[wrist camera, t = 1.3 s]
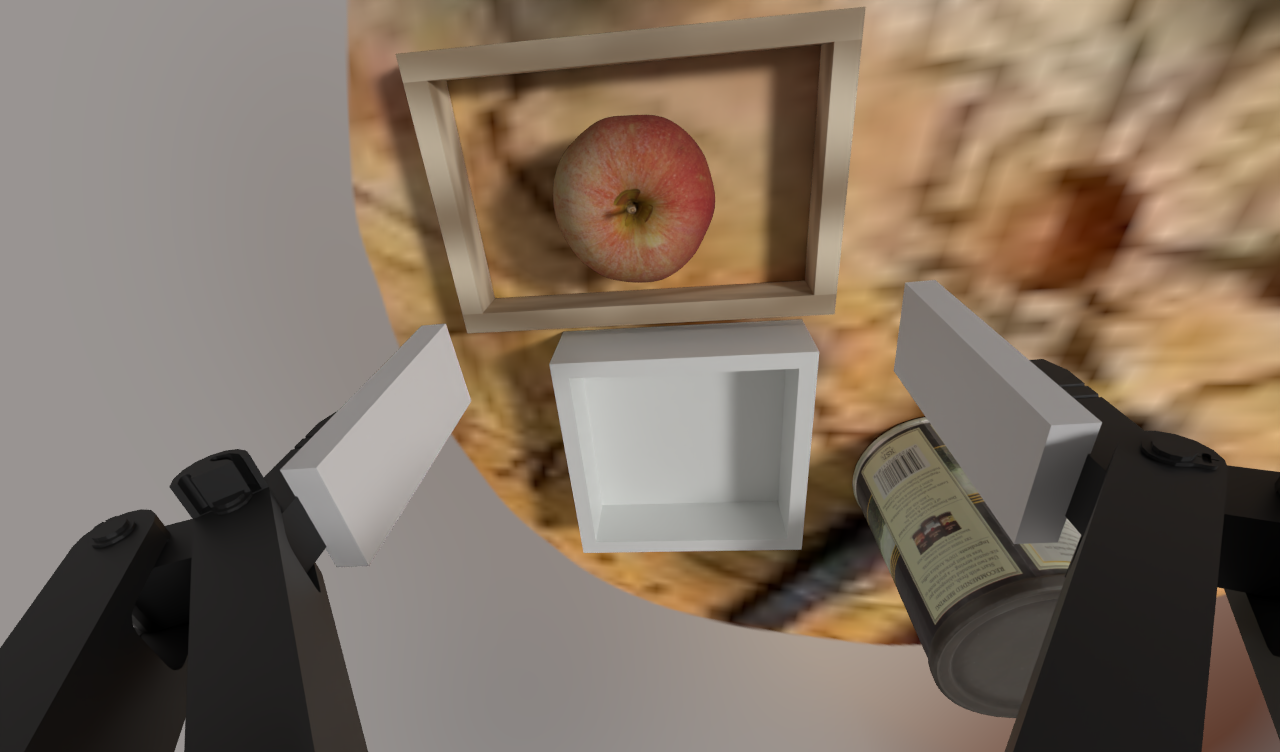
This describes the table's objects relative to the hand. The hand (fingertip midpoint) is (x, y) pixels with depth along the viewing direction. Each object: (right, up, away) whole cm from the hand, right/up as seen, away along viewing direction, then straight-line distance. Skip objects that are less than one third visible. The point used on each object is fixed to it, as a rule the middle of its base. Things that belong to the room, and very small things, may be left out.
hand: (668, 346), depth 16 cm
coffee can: (+20, -8, +23) cm, 31 cm away
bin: (+2, -4, +22) cm, 22 cm away
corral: (-1, +10, +14) cm, 17 cm away
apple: (-1, +10, +14) cm, 17 cm away
